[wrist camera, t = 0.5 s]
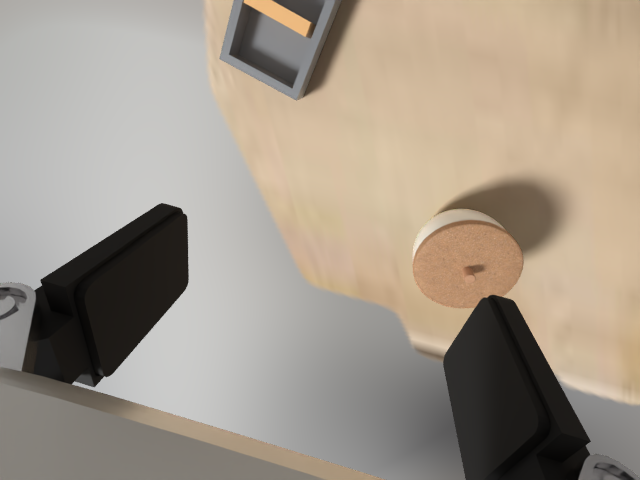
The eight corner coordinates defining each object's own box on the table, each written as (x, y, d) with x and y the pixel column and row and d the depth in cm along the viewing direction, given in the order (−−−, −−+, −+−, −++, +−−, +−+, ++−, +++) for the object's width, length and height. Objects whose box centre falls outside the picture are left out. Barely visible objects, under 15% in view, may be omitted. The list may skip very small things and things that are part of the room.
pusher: (259, -7, 30) (247, -14, 27) (316, 25, 30) (310, 22, 28) (255, 7, 30) (243, 2, 28) (311, 39, 31) (305, 36, 28)
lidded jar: (474, 279, 42) (496, 330, 34) (396, 257, 42) (400, 303, 34) (516, 208, 36) (555, 249, 28) (426, 184, 37) (439, 218, 29)
